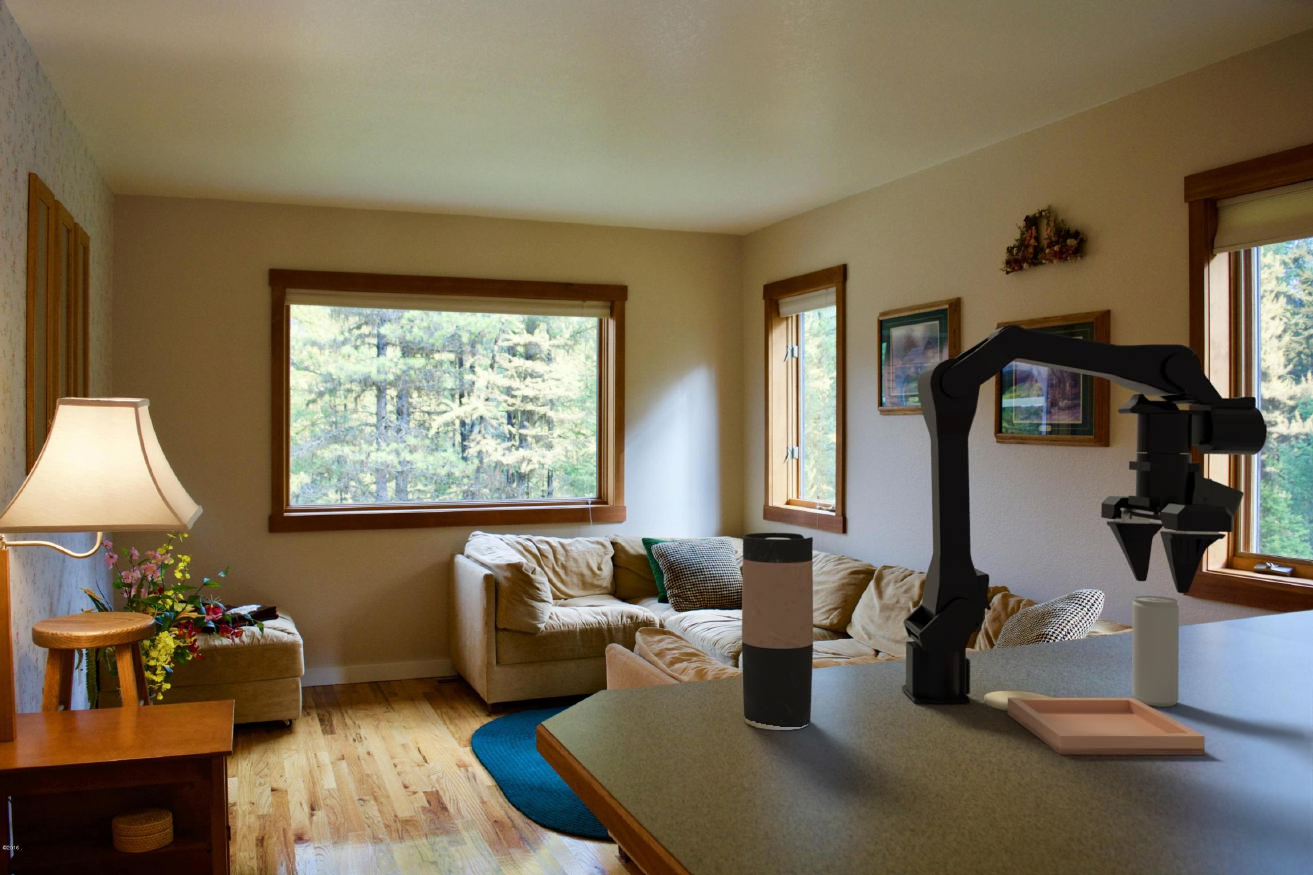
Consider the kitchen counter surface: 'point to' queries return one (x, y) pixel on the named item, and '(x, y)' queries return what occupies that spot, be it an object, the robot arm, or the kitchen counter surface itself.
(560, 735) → the kitchen counter surface
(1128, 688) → the kitchen counter surface
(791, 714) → the travel mug
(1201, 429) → the robot arm
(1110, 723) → the tray
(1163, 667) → the beverage can
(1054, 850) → the kitchen counter surface
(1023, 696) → the cork coaster
